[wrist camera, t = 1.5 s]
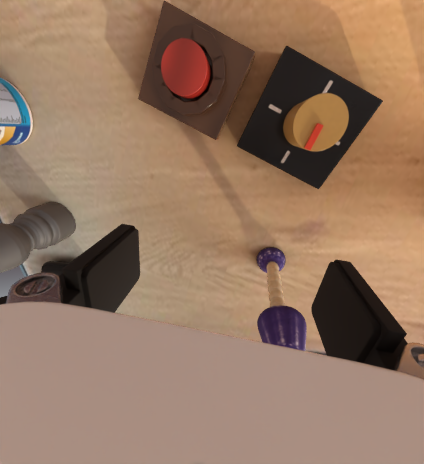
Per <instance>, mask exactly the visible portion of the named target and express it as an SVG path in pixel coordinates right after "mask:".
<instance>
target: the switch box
mask: <svg viewBox="0 0 424 464" xmlns="http://www.w3.org/2000/svg"><path fill="white" fill-rule="evenodd" d="M180 38H188V39H191V40H193V41H195V42H196V43H197V44H198V45H199V46H200V47H201V48H202V50H203V51H204V53H205V55H206V57H207V59H208V61H209V65H210V81H209V84H208V86H207V88H206V90H205V91H204V92H203V93H202V94H201V95H200V96H198V97H196V98H192V99H187V98H183V97H181V96H179V95H177V94H175V93H173V92H172V91H171V90H170V89H169V88H168V87H167V85H166V84H165V82H164V79H163V76H162V72H161V61H162V56H163V54H164V51H165V49H166V48H167V47H168V45H169V44H170V43H171V42H173V41H174V40H177V39H180ZM254 55H255V52H254V51H253V50H251V49H249V48H247V47H245V46H244V45H242V44H240V43H238V42H237V41H235V40H233V39H231V38H230V37H228V36H226V35H224V34H222V33H221V32H219V31H217V30H215V29H214V28H212V27H210V26H208V25H207V24H205V23H203V22H201V21H199V20H198V19H196V18H194V17H192V16H191V15H189V14H187V13H185V12H184V11H182V10H180V9H178V8H176V7H175V6H173V5H171V4H169V3H168V2H166V1H164V3H163V7H162V10H161V14H160V18H159V22H158V26H157V29H156V33H155V37H154V41H153V45H152V48H151V52H150V56H149V60H148V64H147V67H146V71H145V75H144V79H143V83H142V86H141V90H140V94H139V98H138V99H139V100H141V101H143V102H145V103H147V104H149V105H151V106H153V107H155V108H156V109H158V110H160V111H162V112H164V113H166V114H168V115H170V116H172V117H174V118H175V119H177V120H179V121H181V122H183V123H185V124H187V125H189V126H191V127H192V128H194V129H196V130H198V131H200V132H202V133H204V134H206V135H208V136H210V137H211V138H213V139H215V140H216V139H218V138H219V136H220V133H221V131H222V129H223V127H224V124H225V122H226V120H227V118H228V116H229V113H230V111H231V109H232V107H233V104H234V102H235V100H236V98H237V95H238V93H239V91H240V89H241V86H242V84H243V82H244V80H245V78H246V75H247V73H248V71H249V69H250V66H251V64H252V62H253V60H254Z"/></svg>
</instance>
